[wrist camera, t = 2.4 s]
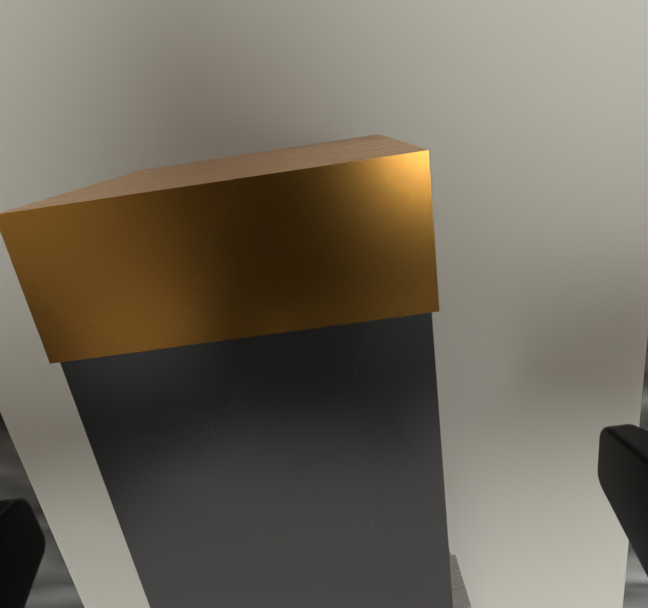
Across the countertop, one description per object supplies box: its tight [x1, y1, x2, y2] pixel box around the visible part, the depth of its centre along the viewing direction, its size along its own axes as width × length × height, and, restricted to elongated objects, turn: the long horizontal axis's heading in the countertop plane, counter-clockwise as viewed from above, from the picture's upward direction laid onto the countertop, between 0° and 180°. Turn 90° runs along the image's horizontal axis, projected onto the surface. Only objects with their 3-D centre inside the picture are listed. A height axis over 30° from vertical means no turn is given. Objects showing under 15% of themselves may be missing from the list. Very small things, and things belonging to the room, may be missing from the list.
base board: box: [0, 0, 648, 608], centre depth 11 cm, size 14×32×1 cm, turn 8°
